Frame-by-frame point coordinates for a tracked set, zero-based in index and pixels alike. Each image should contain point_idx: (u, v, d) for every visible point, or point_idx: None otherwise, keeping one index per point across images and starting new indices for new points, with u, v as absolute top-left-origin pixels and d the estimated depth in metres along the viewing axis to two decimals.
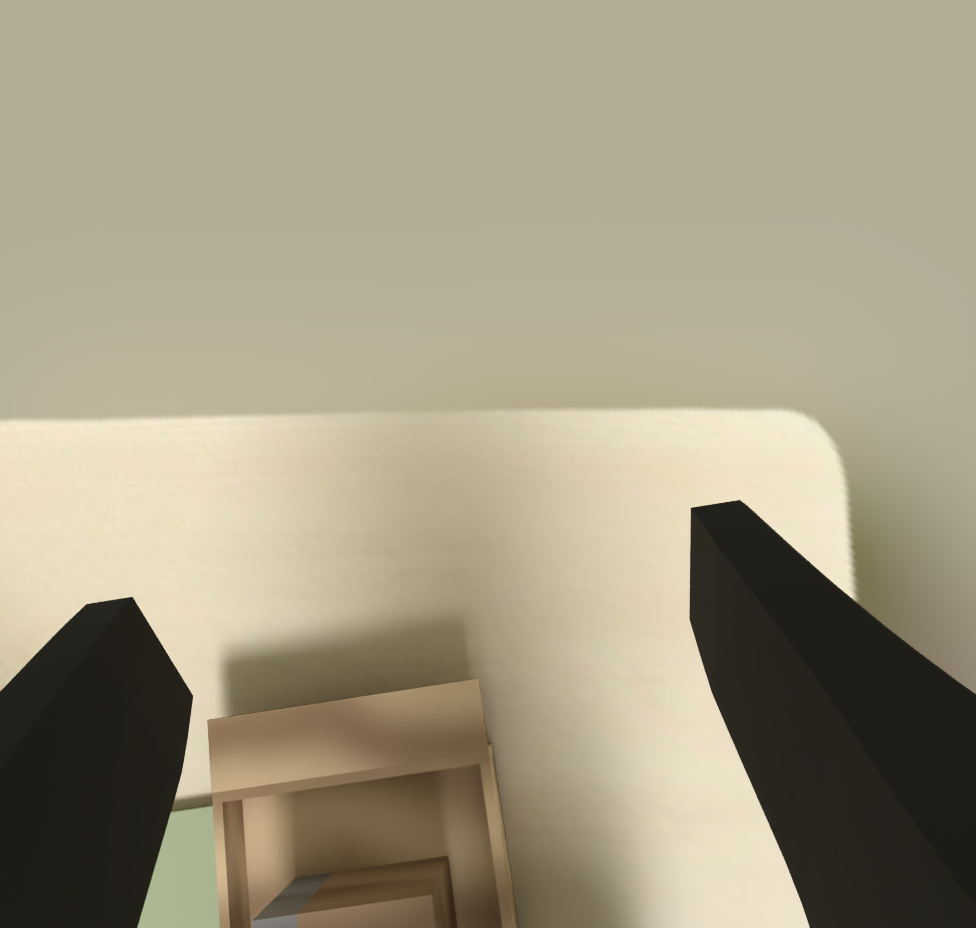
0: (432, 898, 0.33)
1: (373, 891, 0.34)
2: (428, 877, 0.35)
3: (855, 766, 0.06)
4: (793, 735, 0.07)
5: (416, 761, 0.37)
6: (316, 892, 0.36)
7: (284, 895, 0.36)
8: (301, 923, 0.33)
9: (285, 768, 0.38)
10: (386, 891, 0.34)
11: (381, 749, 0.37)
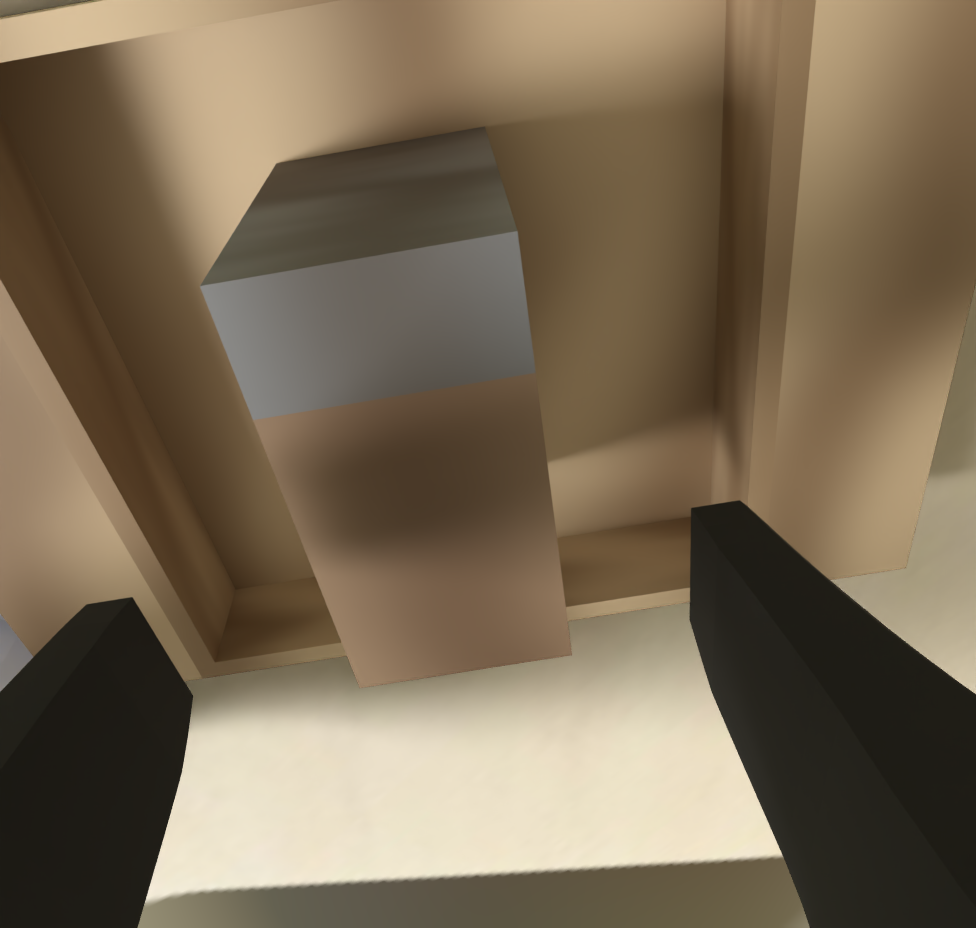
0: None
1: None
2: None
3: (855, 766, 0.06)
4: (792, 736, 0.07)
5: (770, 468, 0.16)
6: None
7: None
8: (509, 389, 0.10)
9: (840, 151, 0.12)
10: None
11: (821, 401, 0.15)
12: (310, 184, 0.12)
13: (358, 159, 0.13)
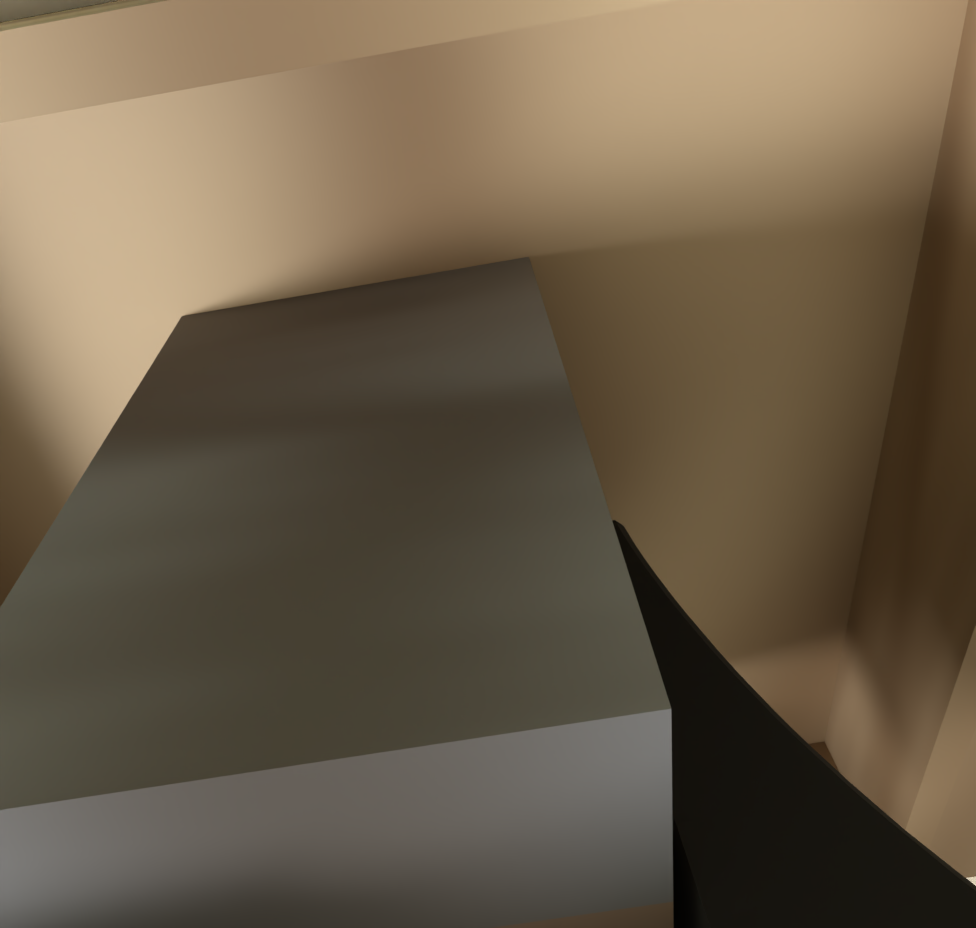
0: None
1: None
2: None
3: None
4: None
5: (956, 753, 0.11)
6: None
7: None
8: (614, 923, 0.05)
9: None
10: None
11: None
12: (220, 392, 0.07)
13: (314, 323, 0.08)
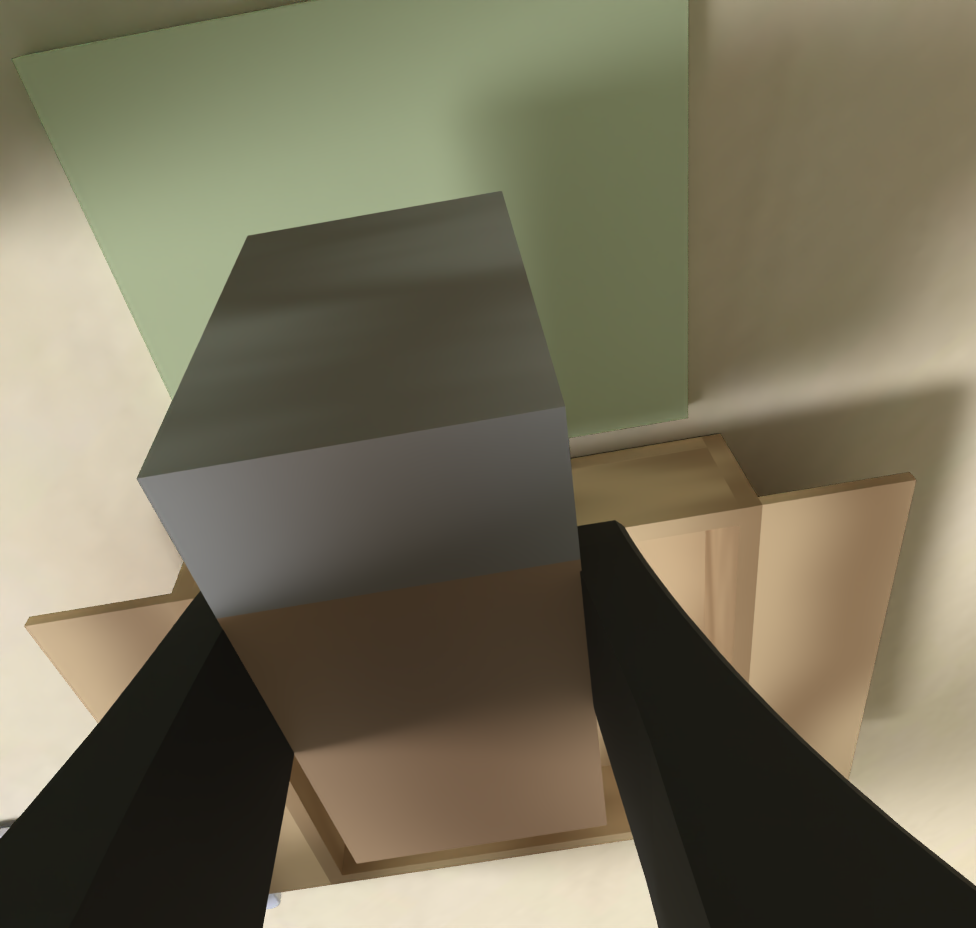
0: None
1: None
2: None
3: (661, 795, 0.06)
4: (633, 760, 0.07)
5: None
6: None
7: None
8: (546, 576, 0.08)
9: (778, 614, 0.19)
10: None
11: None
12: (288, 280, 0.10)
13: (348, 237, 0.11)
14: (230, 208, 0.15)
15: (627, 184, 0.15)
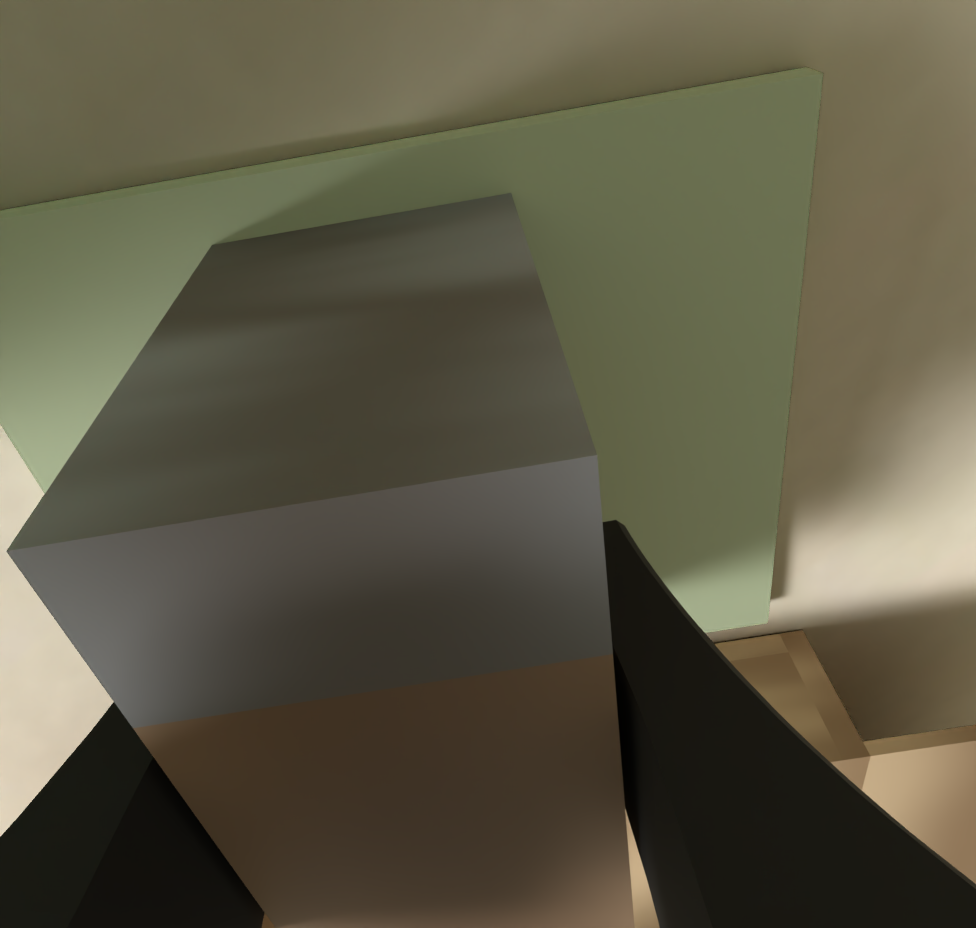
0: None
1: None
2: None
3: (662, 795, 0.06)
4: (634, 758, 0.07)
5: None
6: None
7: None
8: (567, 676, 0.06)
9: None
10: None
11: None
12: (250, 293, 0.08)
13: (327, 245, 0.09)
14: None
15: (714, 376, 0.12)
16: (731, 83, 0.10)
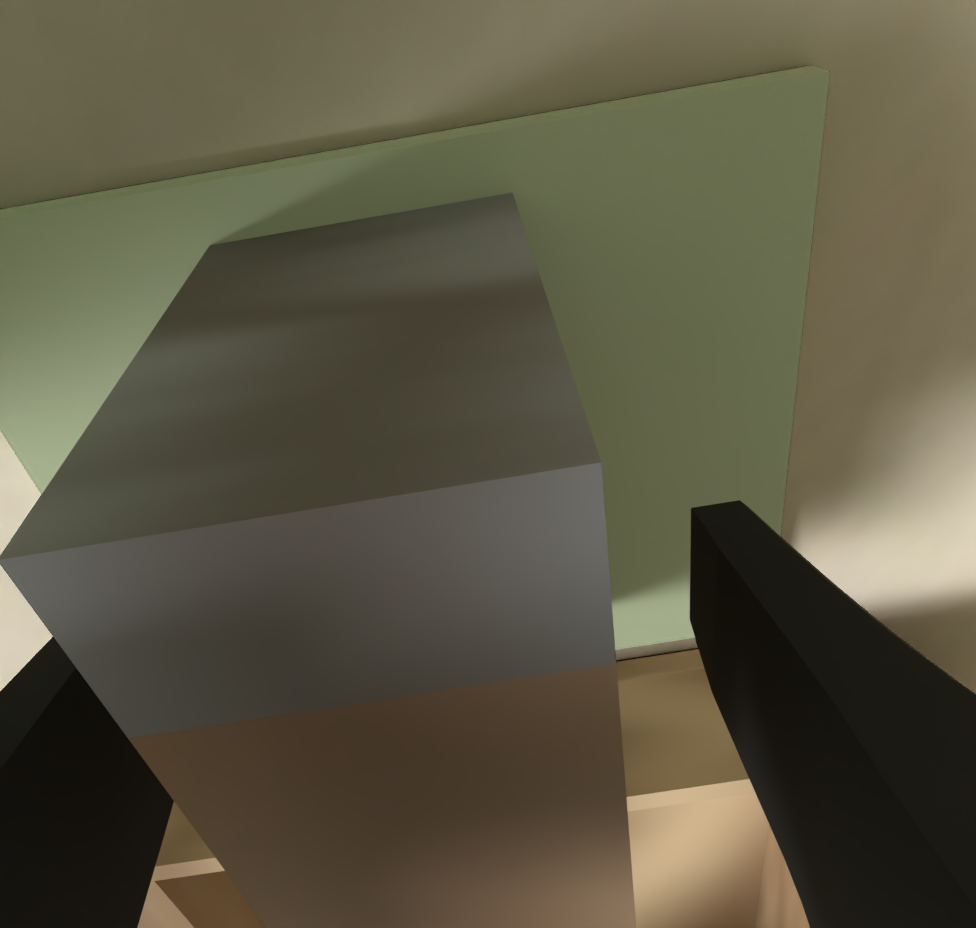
0: None
1: None
2: None
3: (855, 766, 0.06)
4: (793, 735, 0.07)
5: None
6: None
7: None
8: (570, 685, 0.06)
9: None
10: None
11: None
12: (248, 295, 0.08)
13: (326, 246, 0.09)
14: None
15: (718, 378, 0.12)
16: (736, 81, 0.09)
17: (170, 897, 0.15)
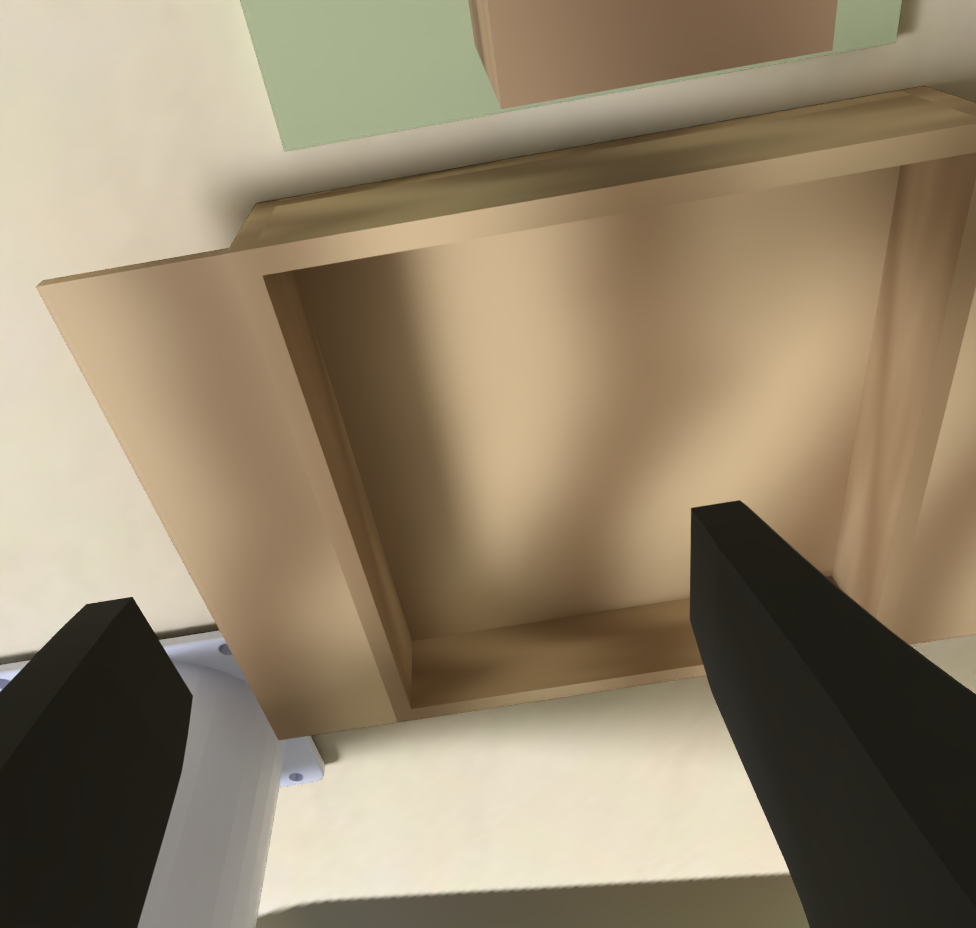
0: None
1: None
2: None
3: (856, 766, 0.06)
4: (793, 735, 0.07)
5: (907, 550, 0.19)
6: None
7: None
8: None
9: None
10: None
11: (958, 498, 0.18)
12: None
13: None
14: None
15: None
16: None
17: (275, 312, 0.14)
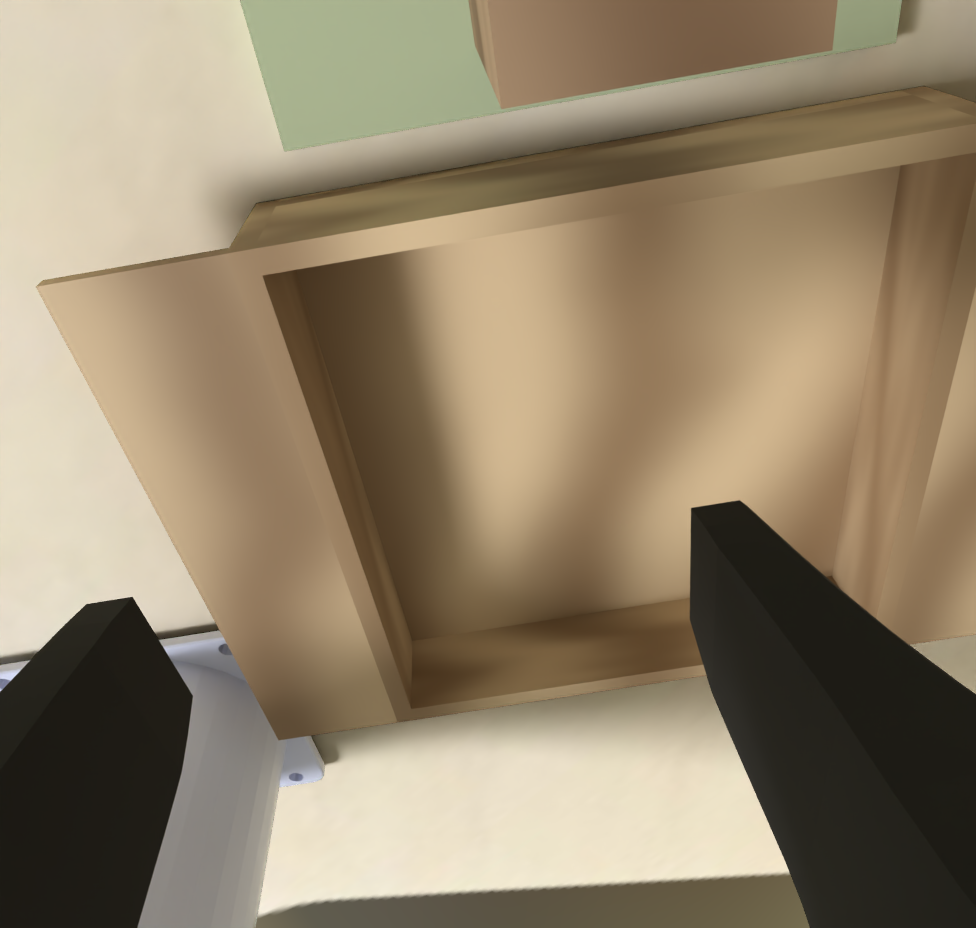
0: None
1: None
2: None
3: (856, 766, 0.06)
4: (793, 735, 0.07)
5: (907, 550, 0.19)
6: None
7: None
8: None
9: None
10: None
11: (958, 498, 0.18)
12: None
13: None
14: None
15: None
16: None
17: (275, 312, 0.14)
